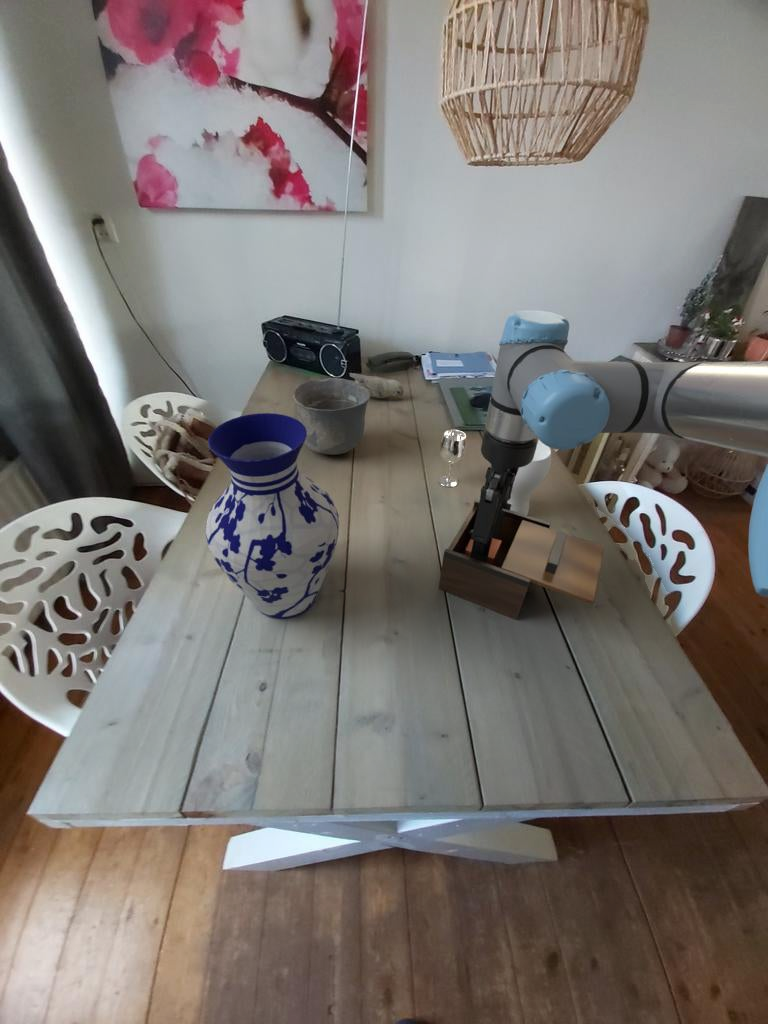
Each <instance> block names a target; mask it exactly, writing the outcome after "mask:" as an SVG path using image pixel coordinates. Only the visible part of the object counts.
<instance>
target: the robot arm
mask: <svg viewBox="0 0 768 1024" xmlns="http://www.w3.org/2000/svg"><path fill="white" fill-rule="evenodd" d="M503 327H504V329H503V331H502V335H501V339H500V341H499V343H498V344H499V350H498V354H497V355H498V356H497V361H496V367H495V373H494V378H493V383H492V388H491V394H490V398H489V402H488V408H487V413H486V418H485V423H484V427H485V429H484V431H483V436H482V440H481V446H480V454H481V455H482V457H483V458H484V459H485V460H486V461H487V462H489V463H490V466H488V467H487V469H486V472H485V482H484V485H482V486H481V488H480V498H479V501H480V502H479V506H478V511H477V515H476V520H475V524H474V528H473V530H471V531H470V534H471V539H472V540H474V541H473V546H472V550H471V555H470V557H471V558H474V559H476V560H479V561H482V562H485V563H486V562H487V558H488V554H489V550H490V546H491V542H492V538H494V539H498V538H499V534H500V530H501V526H502V522H503V518H504V515H505V511H503V509H506V510H509V511H510V508H511V504H508V503H507V502H508V501H509V499H510V498H511V492H512V488H513V484H514V481H515V477H516V474H517V472H518V470H519V468H520V467H524V466H526V465H528V464H529V463H531V461H532V460H533V458H534V454H535V450H536V447H537V443H538V439H539V440H540V441H541V442H542V443H543V444H545V445H546V446H548V447H549V448H550V449H554V450H558V451H569V450H573V449H576V448H577V447H580V446H582V445H586V444H588V443H590V442H592V441H594V440H595V438H597V437H598V436H599V435H600V434H626V433H631V434H633V433H634V434H656V435H665V436H668V437H669V436H670V437H672V438H673V437H674V438H678V439H683V440H689V441H694V442H698V443H703V444H707V445H711V446H715V447H719V448H724V449H728V450H733V451H738V452H741V453H746V454H750V455H754V456H758V457H763V458H768V360H765V361H764V360H763V361H762V360H761V361H760V360H759V361H757V360H755V361H754V360H753V361H656V362H655V361H651V362H650V361H649V362H648V361H647V362H646V361H643V362H642V361H640V362H639V361H638V362H637V361H636V362H635V361H594V360H592V361H591V360H590V361H589V360H588V361H587V360H586V361H583V360H582V361H581V360H573V358H572V357H570V355H568V354H567V353H566V351H565V348H566V345H568V342H569V339H568V338H569V332H570V323H569V321H568V319H567V318H566V317H565V316H563V315H560V314H558V313H555V312H550V311H546V310H545V311H544V310H537V309H536V310H534V309H533V310H531V309H527V310H518V311H516V312H514V313H512V314H510V315H509V316H508V317H507V318H506V321H505V323H504V326H503ZM748 527H749V528H748V540H747V541H748V545H747V546H748V548H747V549H748V550H747V551H748V561H749V571H750V576H751V580H752V581H751V582H752V584H753V587H754V590H755V593H757V595H759V596H760V597H763V598H768V463H767V464H766V466H765V470H764V471H763V474H762V477H761V479H760V482H759V484H758V487H757V490H756V492H755V496H754V500H753V504H752V508H751V513H750V518H749V526H748Z"/></svg>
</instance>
